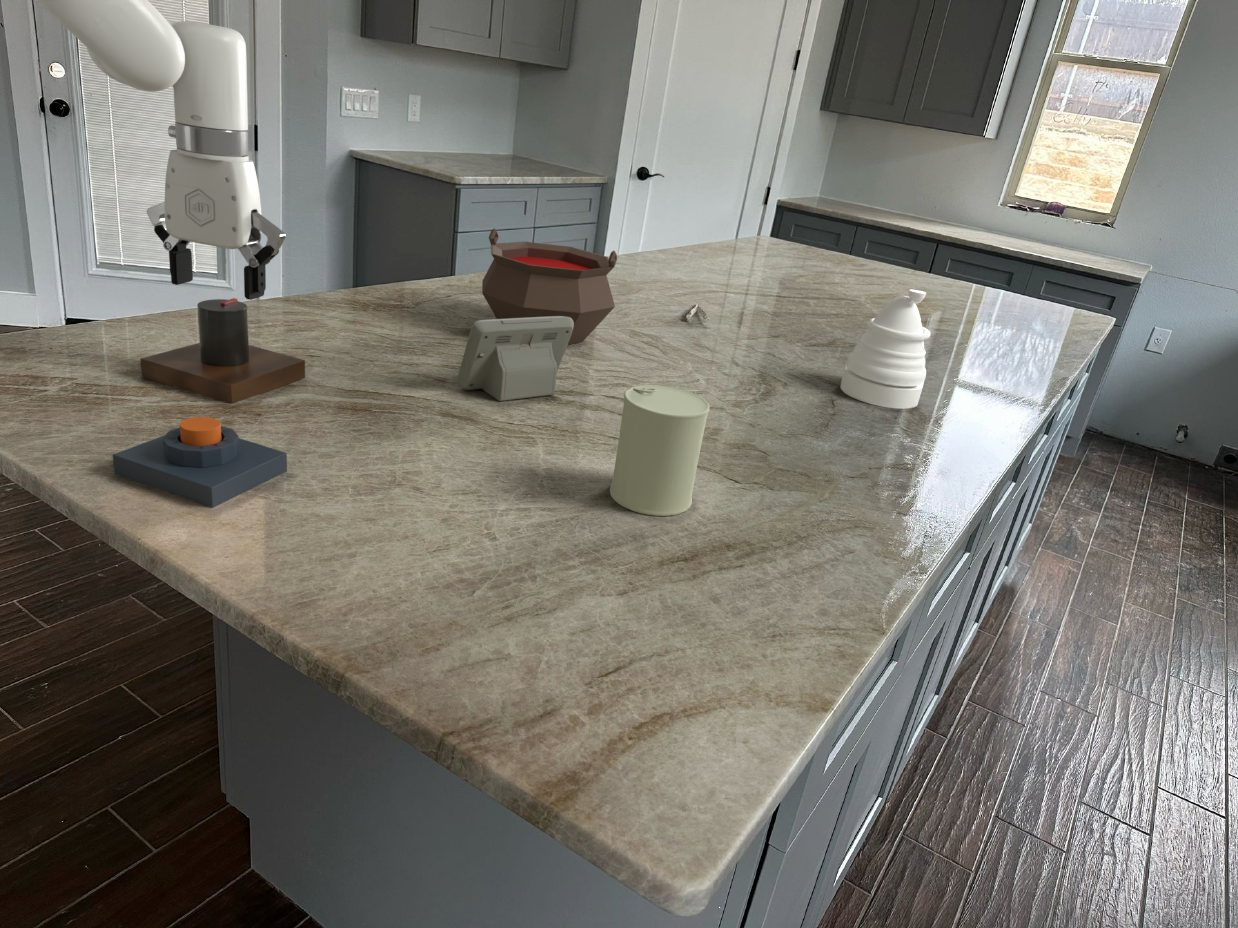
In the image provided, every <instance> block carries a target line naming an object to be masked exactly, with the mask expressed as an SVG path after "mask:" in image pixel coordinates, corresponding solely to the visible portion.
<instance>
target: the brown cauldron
mask: <svg viewBox="0 0 1238 928" xmlns="http://www.w3.org/2000/svg"><path fill="white" fill-rule="evenodd" d="M498 240H499V233H498V231H497V230H496V228H495V227H494V228H493V229H491V231H490V232H489V235H488V241H489V243H490V255H491V256H492V258H493V260H492V262H491V263H490V266H489V268H488V269H487V271H486V273H485V275H484V277H483V278H482V284H481V285H482V286H481V294H482V296H483V297H484V300H485V301H486V303H487V304H488V307H489V308H490V309H491V312H492V314H493V315H494V317H495V319H510V318H529V317H549V316H565V317H570V318H572V320H573V322H574V326H573V330H572V333H571V336H570V339H569V342H568V345H567V346H570V345H575V344H579V343H583V342H584V341H585V340H586V339H587V338H588V337H589V336H590V334H591V333H592V332H593V331H594V330H595V329H596V328H597V327H598V326H599V325H600V324H601V323H602V322H603V321H604V319H605V318H607V316H608V315H609V314H610V313H611V312H612V311H613V310H614V309H615V308H616V305H615V301H614V298H613V295H612V291H611V287H610V283H609V280H608V276H607V275H608V274H609V273H610V272H611V271H612V270H613V269H614V268H616V264H617V261H618V256H617V252H616V251H615V250H612V251H611V252H610V254H609V257H608V256H606V255H603V254H600V253H599V254H598V253H595V252H591V251H588V250H584V249H580V248H578V247H573V246H569V245H560V244H551V243H541V242H540V243H539V242H535V241H534V242H533V241H524V240H523V241H510V242H498ZM497 242H498V243H497Z"/></svg>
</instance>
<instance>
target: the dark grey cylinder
mask: <svg viewBox="0 0 1238 928" xmlns="http://www.w3.org/2000/svg"><path fill="white" fill-rule="evenodd" d="M196 306H197V307H196V308H197V321H198V322H197V323H198V336H199V343H200V354H201V360H202V361H203V362H205V363H207V364H211V365H217V366H234V365H240V364H244V363H246V362H248V361H249V345H250V344H249V323H248V322H249V321H248V320H249V319H248V305H247V304H246V303H244V302H242V301H239V300H238V298H235V297H233V298H230V299H223V298H222V299H221V298H220V299H219V298H217V299H206V300H201V301H199V302H198V303H197V305H196Z"/></svg>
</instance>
